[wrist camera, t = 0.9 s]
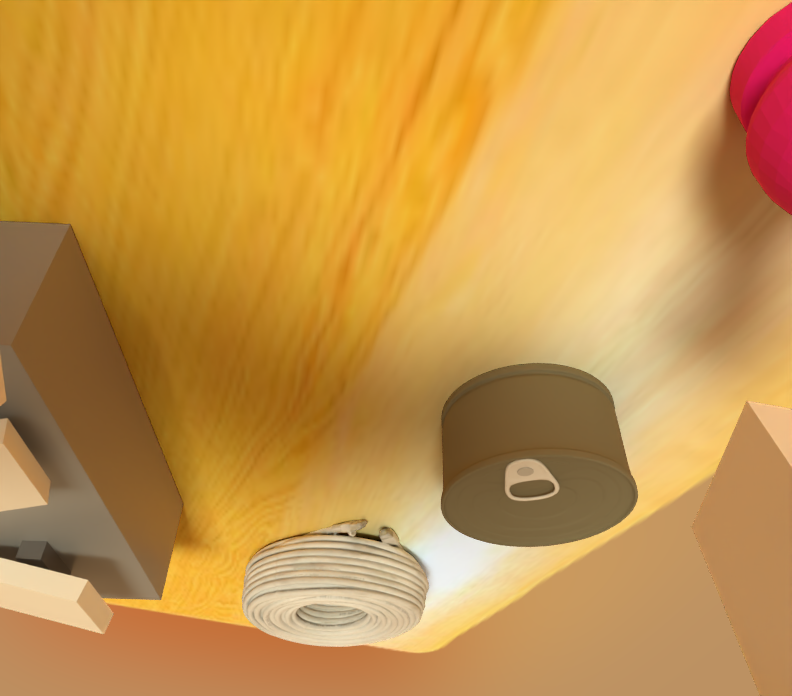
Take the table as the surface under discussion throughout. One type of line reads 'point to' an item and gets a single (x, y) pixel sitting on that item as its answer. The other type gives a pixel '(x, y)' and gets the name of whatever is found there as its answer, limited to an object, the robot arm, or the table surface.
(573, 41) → the table surface
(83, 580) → the rocker
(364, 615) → the cable
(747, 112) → the pepper mill
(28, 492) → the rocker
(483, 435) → the can
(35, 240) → the rocker switch box
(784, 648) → the robot arm
